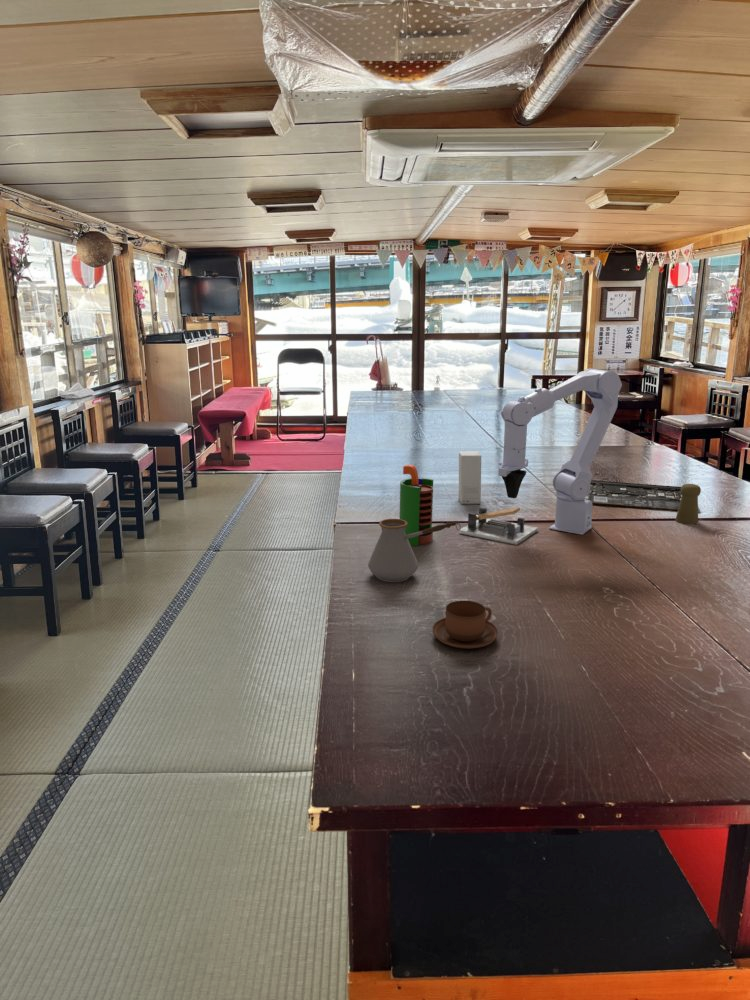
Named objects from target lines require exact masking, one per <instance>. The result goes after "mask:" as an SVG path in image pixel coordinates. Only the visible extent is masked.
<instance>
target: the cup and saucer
mask: <svg viewBox="0 0 750 1000" xmlns="http://www.w3.org/2000/svg"><path fill="white" fill-rule="evenodd" d="M487 612H488V615H487V616H486V614H487ZM492 613H493V612H492V609H491V608H490V607H489V606H484V605H483V604H481V603H479V602H476V601H473V600H455V601H451V602H449V603H448V604H447V605H445V617H444V618H441V619H439V620H437V621H436V622H434V624H433V626H432V633H433V635H434V637H435V638H436V639H438V641H439V642H441V643H443V644H444V645H447V646H449V647H454V648H457V649H466V650H467V649H468V650H469V649H470V650H471V649H479V648H483V647H485V646H488V645H491V644H492V643H493V642H494V641H496V639H497V638H498V634H499V631H498V628H497V627H496V626H495V625H494V624H493V623H492V622H490V619H491V617H492V615H493V614H492Z"/></svg>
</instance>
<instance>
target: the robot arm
mask: <svg viewBox="0 0 750 1000" xmlns="http://www.w3.org/2000/svg"><path fill="white" fill-rule="evenodd" d="M622 387H623V383H622V381H621V378H620V376H619V374H618V373H617V372H616V371H614V370H603V369H597V368H594V367H592V368H587V369H585V370H582V371H579V372H578V373H577V374H576V375H574V376H572V377H570V378H569V379H566V380H565V381H563V382H561V383H559V384H557V385H556V386H553V387H552V388H551V389H547V388H544V387H543V388H542V387H541V388H540V387H536V388H534V392H531V393H529V394H527V395H525V396H523V395H521V396H520V397H519V398H518V401H516V400H510V401H508V402H506V403H505V405H503V408H502V410H501V412H500V415H501V418H502V420H503V421H504V431H503V433H504V437H503V452H502V453H503V456H502V457H503V458H502V461H499V462H498V466H500V467H499V468H498V476H499V477H501V478H502V481H503V483H504V485H505V490H506V496H507V498H509V499H516V498H518V495H519V491H520V488H521V485H522V482H523V480H524V478H525V477H526V476H527V471H526V470H522V469H526V468H527V467H528V466H529V459H528V458H526V457H527V456H526V453H527V435H528V434H527V433H528V432H527V431H528V424H529V423H530V422H531V420H532V419H533V418H534V417H536V416H539V415H540V414H542V413H544V412H546V411H549V410H550V409H552V408H553V407H554V405H555V402H557V401H560V400H562V399H564V398H567V397H569V396H571V395H574V394H576V393H578V392H581V391H584V393H585V394H586V395H587V396H588V398H590V400H591V402H592V405H593V409H592V412H591V414H590V415H589V418H588V421H587V422H586V425H585V427H584V429H583V431H582V434H581V435H580V438H579V440H578V443H577V445H576V447H575V449H574V451H573V454H572V456H571V458H570V460H568V461H566V462H564V464H561V465H562V466H561V468H560V469H559V471H558V472H556V473H555V475H554V476H553V478H552V486H553V489H554V490H555V491H556V492H555V493H556V494H555V495H556V501H555V503H556V504H555V514H554V524H552V525H551V526H549V527H548V528H549V529H550V530H553V531H560V532H564V533H565V532H566V533H570V534H577V535H580V536H581V535H584V534H586V533H587V532H588V531H590V529H592V527H593V526H592V521H593V519H592V518H593V508H594V506H593V505H594V504H592V501H590V500H586V499H585V497H586V496H587V495H588V493H589V491H590V483H591V480H592V479H593V473H592V471H591V466H592V464H593V461H594V459H595V457H596V455H597V453H598V451H599V448H600V446H601V444H602V442H603V440H604V437H605V436H606V432H607V431H608V428H609V426H610V424H611V422H612V420H613V418H614V415H615V413H616V411H617V408H618V402H619V401H618V400H619V394H620V391H621V389H622ZM592 481H593V480H592Z"/></svg>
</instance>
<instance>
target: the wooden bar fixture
mask: <svg viewBox="0 0 750 1000" xmlns="http://www.w3.org/2000/svg"><path fill="white" fill-rule="evenodd" d="M487 511H488V508H486V507H478V514H480V513H482V514H483V513H488V512H487ZM476 515H477V513H473V512H468V515H467V516H468V517H467V518H468V519H467V525H466V526H463V527H461V529H460V528H459V529H460V530H459V529H458V530H459V531H458V534H460V535H466V536H470V537H475V538H480V539H485V540H486V539H487V540H491V541H496V542H501V543H506V544H510V545H515V546H517V545H519V544H521V543H522V542H523V541H525V540H527V539H528V538H530V537H531V536H534V534H535V533H537V532H538V531H539V527H537V526H533V525H527V524H525V518H524V517H517V523H515V522H511V521H505V520H499V519H494V518H487V519H481V520H476Z"/></svg>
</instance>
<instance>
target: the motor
mask: <svg viewBox="0 0 750 1000" xmlns="http://www.w3.org/2000/svg"><path fill="white" fill-rule="evenodd" d="M402 468H403V469H402V474H403V475H410V477H409V478H405V479H402V480H400V482H399V483H400V485H399V489H400V490H399V519H401V520H405V521H406V522H407V523H408V524H407V526H406V527H405V534H406V535H408V534H412V533H416V532H420V531H423V530H425V529H428V528H431V527H433V526H432V525H433V503H434V500H433V497H434V479H433V478H432V479H431V478H426V477H425V478H424V477H419V475H418V470H417V467H416V466H415V465H414V464H406V465H404V466H403V467H402ZM433 537H434V532H431V533H427V534H422V535H418V536H415V537H412V538H409V539H408V541H409V543H410V545H411V547H412V546H415V547H417V546H418V547H419V545H426V544H427V545H428V544H430V543H432V542H433V540H434V539H433Z"/></svg>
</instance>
